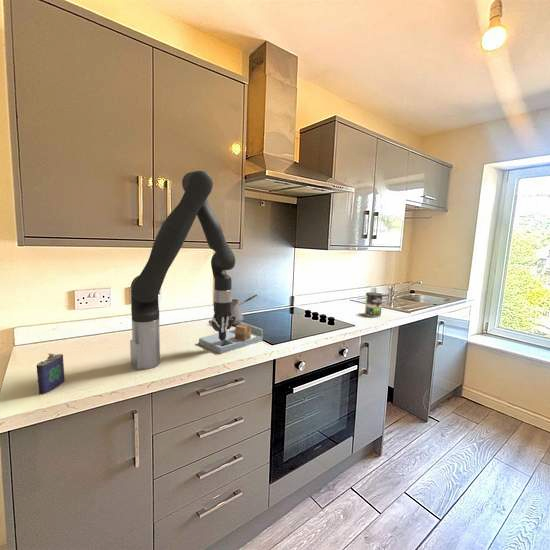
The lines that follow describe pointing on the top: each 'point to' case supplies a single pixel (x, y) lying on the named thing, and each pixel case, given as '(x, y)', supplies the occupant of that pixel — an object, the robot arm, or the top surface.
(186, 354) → the top surface
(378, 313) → the coffee can
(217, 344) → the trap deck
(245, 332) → the block
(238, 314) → the coffee pot
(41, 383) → the flask
